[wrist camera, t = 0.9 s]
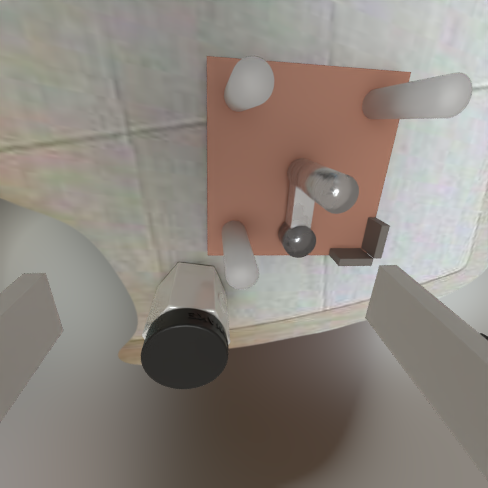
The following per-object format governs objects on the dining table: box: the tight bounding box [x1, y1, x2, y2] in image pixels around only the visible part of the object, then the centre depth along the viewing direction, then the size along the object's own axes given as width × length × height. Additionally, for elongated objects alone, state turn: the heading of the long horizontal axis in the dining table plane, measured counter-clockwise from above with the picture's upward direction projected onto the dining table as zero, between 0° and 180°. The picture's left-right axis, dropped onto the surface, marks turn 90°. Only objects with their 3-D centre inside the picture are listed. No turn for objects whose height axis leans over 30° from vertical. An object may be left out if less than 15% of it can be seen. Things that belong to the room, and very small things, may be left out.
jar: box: [141, 262, 230, 389], centre depth 32 cm, size 9×8×12 cm
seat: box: [207, 56, 472, 289], centre depth 27 cm, size 20×20×12 cm
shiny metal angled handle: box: [278, 158, 359, 258], centre depth 27 cm, size 10×4×10 cm, turn 177°
